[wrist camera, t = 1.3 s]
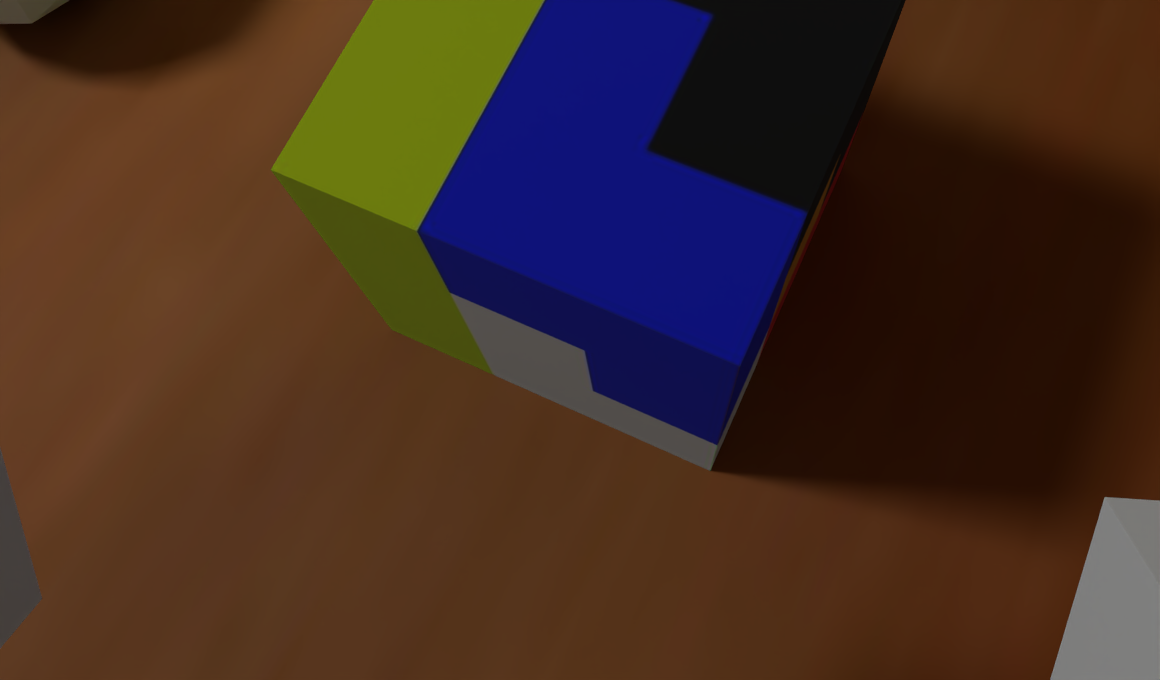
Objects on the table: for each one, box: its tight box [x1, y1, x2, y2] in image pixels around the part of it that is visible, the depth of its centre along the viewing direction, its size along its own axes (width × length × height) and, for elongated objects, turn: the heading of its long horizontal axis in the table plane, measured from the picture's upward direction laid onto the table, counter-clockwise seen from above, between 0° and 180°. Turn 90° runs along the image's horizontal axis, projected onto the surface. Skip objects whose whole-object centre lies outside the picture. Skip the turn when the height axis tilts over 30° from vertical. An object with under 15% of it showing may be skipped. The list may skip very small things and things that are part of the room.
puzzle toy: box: [271, 0, 905, 471], centre depth 25 cm, size 10×10×10 cm
